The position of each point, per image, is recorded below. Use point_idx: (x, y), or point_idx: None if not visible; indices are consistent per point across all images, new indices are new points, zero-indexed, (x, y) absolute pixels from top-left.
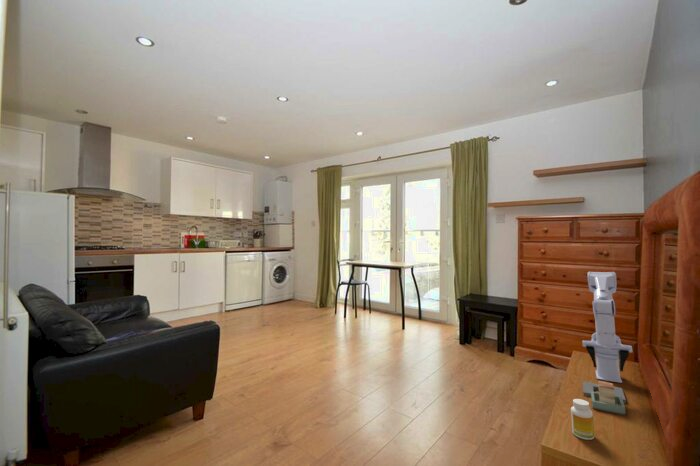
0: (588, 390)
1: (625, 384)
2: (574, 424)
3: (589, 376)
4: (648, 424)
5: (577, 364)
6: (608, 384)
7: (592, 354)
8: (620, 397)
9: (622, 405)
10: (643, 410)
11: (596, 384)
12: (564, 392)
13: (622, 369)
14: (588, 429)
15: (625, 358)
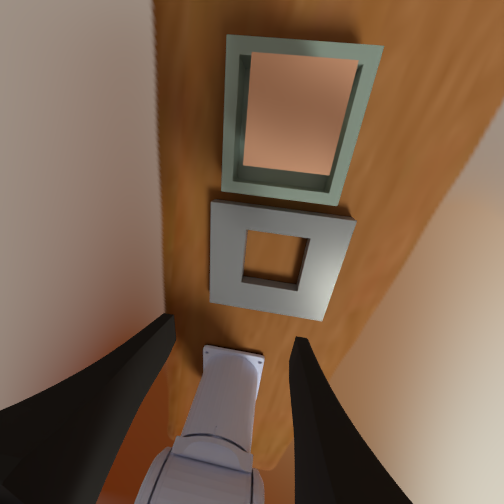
0: (328, 245)
1: (197, 340)
2: None
3: (280, 368)
4: None
5: (291, 425)
6: (276, 122)
7: (347, 455)
8: (226, 182)
9: (233, 66)
10: (168, 157)
11: (281, 307)
12: (427, 219)
13: (155, 320)
14: None
15: (47, 395)
